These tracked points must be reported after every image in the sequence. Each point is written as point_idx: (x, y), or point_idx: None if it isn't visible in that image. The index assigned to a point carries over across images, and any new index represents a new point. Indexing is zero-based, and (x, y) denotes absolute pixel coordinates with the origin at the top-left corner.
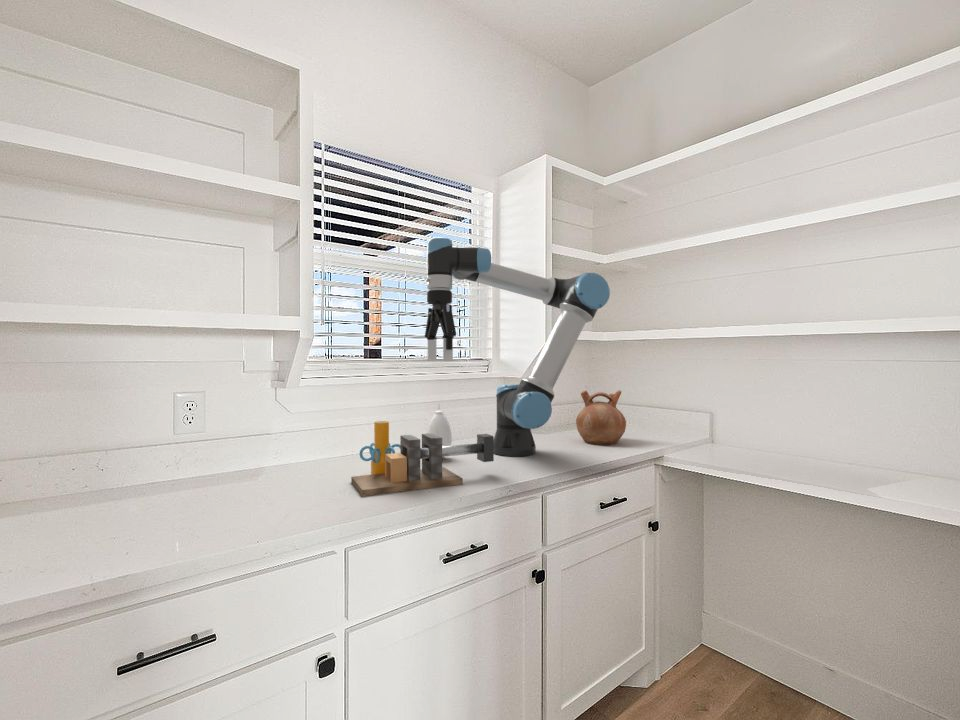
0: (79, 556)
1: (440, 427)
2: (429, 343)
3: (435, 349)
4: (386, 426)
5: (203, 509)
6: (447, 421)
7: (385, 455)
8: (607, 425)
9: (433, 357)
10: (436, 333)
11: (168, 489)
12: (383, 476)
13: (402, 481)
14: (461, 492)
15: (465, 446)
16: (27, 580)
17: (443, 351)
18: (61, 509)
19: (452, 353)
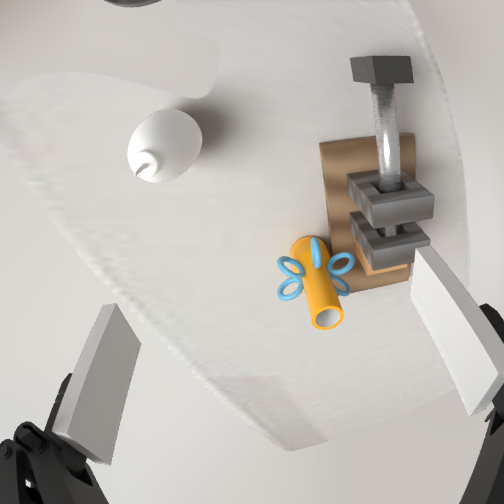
0: (424, 393)
1: (189, 150)
2: (111, 436)
3: (95, 369)
4: (339, 304)
5: (370, 381)
6: (161, 130)
7: (368, 274)
8: None
9: (121, 334)
10: (71, 491)
11: (290, 413)
12: (353, 255)
13: None
14: (445, 150)
15: (397, 123)
16: (442, 392)
17: (440, 340)
18: (323, 433)
19: (456, 278)
